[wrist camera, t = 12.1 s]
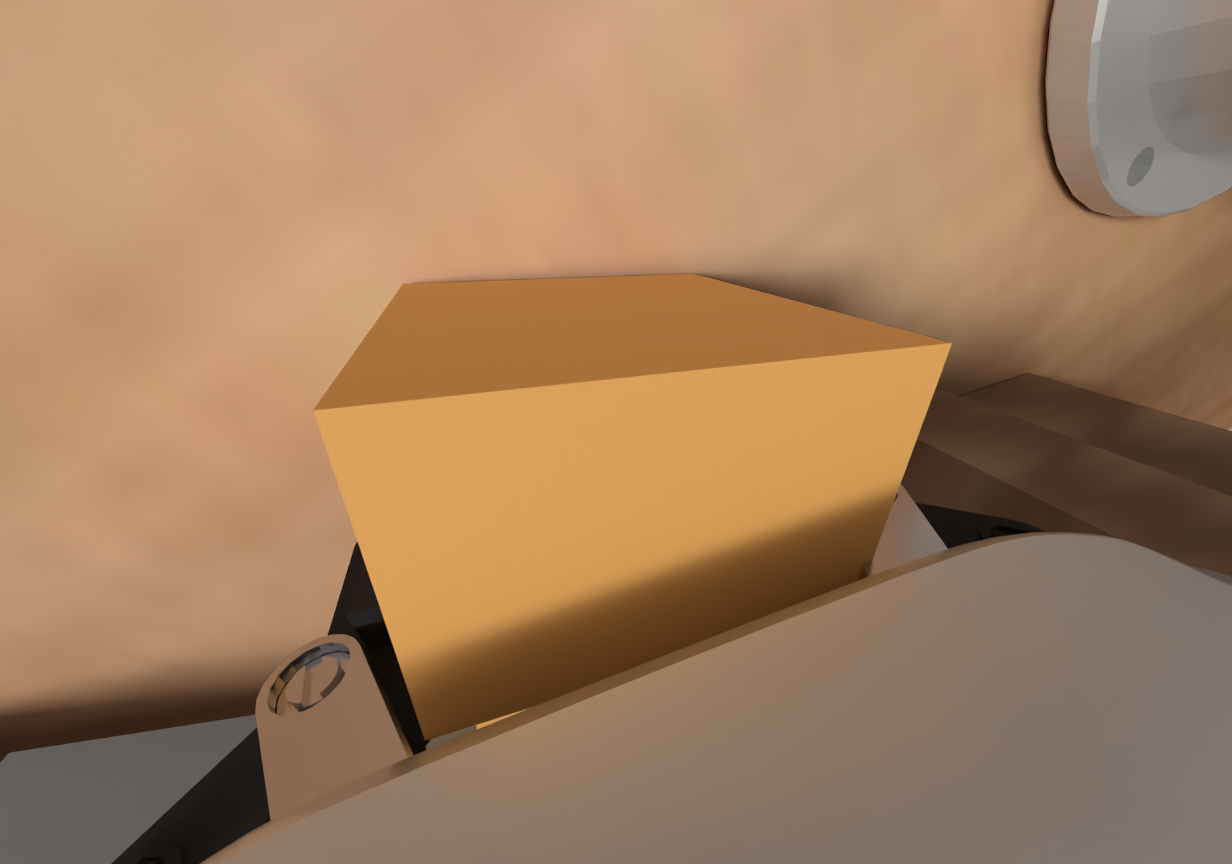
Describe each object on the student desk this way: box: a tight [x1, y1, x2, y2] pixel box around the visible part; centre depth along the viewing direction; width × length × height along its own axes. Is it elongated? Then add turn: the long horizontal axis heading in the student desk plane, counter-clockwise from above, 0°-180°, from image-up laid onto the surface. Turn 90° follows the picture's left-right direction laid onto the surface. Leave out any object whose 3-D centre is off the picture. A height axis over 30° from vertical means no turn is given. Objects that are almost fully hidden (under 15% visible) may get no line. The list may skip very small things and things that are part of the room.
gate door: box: [0, 715, 477, 864], centre depth 10 cm, size 21×1×6 cm, turn 77°
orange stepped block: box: [313, 274, 952, 741], centre depth 9 cm, size 11×6×6 cm, turn 179°
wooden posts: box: [901, 373, 1232, 577], centre depth 9 cm, size 35×3×8 cm, turn 98°
